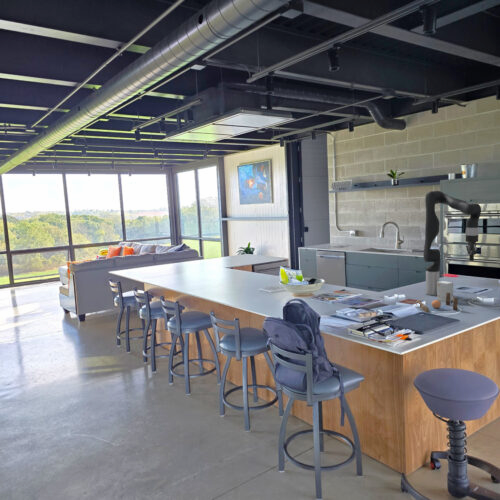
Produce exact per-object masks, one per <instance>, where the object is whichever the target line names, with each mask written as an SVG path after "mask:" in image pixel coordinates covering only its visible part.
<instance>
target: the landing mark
mask: <svg viewBox="0 0 500 500" xmlns="http://www.w3.org/2000/svg"><path fill="white" fill-rule="evenodd" d="M424 305H425V306H427V307H428V308H429V312H430V311H451V310H452V308H450V307H448V305H446V304H441V306H440V307H439V308H434V307H433V306H432V304H424Z"/></svg>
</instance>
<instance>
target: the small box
mask: <svg viewBox="0 0 500 500" xmlns="http://www.w3.org/2000/svg"><path fill="white" fill-rule="evenodd" d="M446 293H450V303H451V302H453V297H454V282H452V281H446V280H441V281H440V280H439V282H437V295H436V296H437V297H436V298H437V299H436V300H438V301H440V302H444V303H446Z"/></svg>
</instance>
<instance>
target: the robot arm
mask: <svg viewBox="0 0 500 500" xmlns="http://www.w3.org/2000/svg"><path fill="white" fill-rule="evenodd" d="M424 199H425V202H424V203H425V229H424V230H425V232H424V233H425V234H424V235H425V237H424V245H423V246H424V248H423V261H425V263H431V264H429V265H426V267H425V295H427V296H437V282H440V268H441V257H442V256H441V255H442V254H441V251H440V249H438V248H431V247H432V244H433V242H434V241H435V239H436V238H437V237H438V235H439V233H440V219H439V218H438V216H437V213H436V205H438V204H443V205H447V206H448V207H449V208H451V209H453V210H456V211H460V212H461V213H463V214H464V215H466V216H467V215H468V216H470V217H468V218H467V219H466V221H465V242H466V243H467V245H465V249H466V252H467V254H468V255H469V258H468V259H469V260H468V261H470V262H473V261H474V260H475V258H474V256H475V255H477V251H478V250H479V248H478V247H477V242H478V243H479V220H480V217H481V213H482V206H481V205H480V203H468V202H467V201H466V200H464V199H463V200H462V199H459V198H455V197H453V196H450V195H448V194H446V193H444V192H442V191H440V190H432V191H431V190H430V191H428V192H427V193H426V194H425V198H424Z"/></svg>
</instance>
